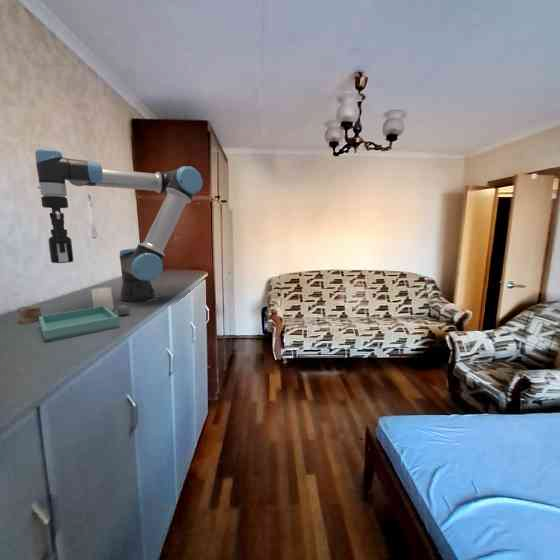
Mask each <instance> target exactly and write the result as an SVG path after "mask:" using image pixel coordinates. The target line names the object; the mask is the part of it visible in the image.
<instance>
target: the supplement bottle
mask: <svg viewBox="0 0 560 560" xmlns="http://www.w3.org/2000/svg"><path fill="white" fill-rule="evenodd" d="M64 230H65V237H66V247H67V255H68V262H59V258H58V251H57V244H55V243H54V241H57V239H56V233H55V229H50V234H51V236H50V237H49V238H48V248H49V255H50V263H52V264H66V263H67V264H68V263H72V262H74V253H73V244H72V243H73V242H72V239H71V237H70V236H68V229H65V228H64Z"/></svg>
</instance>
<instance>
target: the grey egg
mask: <svg viewBox="0 0 560 560" xmlns="http://www.w3.org/2000/svg"><path fill="white" fill-rule="evenodd" d="M129 312H130V308H129V306H128V305H126V304H121V305H119V306H118V307H117V313H118V315H120V316H126V315H128V314H129Z"/></svg>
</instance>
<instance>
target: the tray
mask: <svg viewBox="0 0 560 560" xmlns="http://www.w3.org/2000/svg"><path fill="white" fill-rule="evenodd" d="M119 319H120V318H119V316H118V315H117V314H116V313H115V312H113V310H112V311H111V310H109V309H108V308H107V307H106V306H99V307H88V308H87V307H86V308H82V309H75V310H70V311H65V312H57V313H52V314H45V315H41V316H39V321H38V323H39V327H40V330H41V332H42V336H43V339H44V342H45V343H49V342H55V341H59V340H64V339H68V338H73V337H79V336H83V335H88V334H93V333H97V331H98V332H103V331H106V330H110V329H111V330H112V329H116V328H117V329H118V328H120V320H119ZM102 330H103V331H102Z"/></svg>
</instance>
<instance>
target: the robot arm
mask: <svg viewBox="0 0 560 560" xmlns="http://www.w3.org/2000/svg"><path fill="white" fill-rule="evenodd" d="M34 153H35V155H34V156H35V164H36V170H37V178H38V183H39V185H37V189H38V190H39V189H40V191H39V192H40V194H41V197H40V198H41V199H40V200H41V206H42V207H43V208H46V209H51V212H50V213H49V218H50V222H51V225H52V228H53V229H55V233H56V239H57V241H54V243H55V244H57V251H58V258H59V262H68V255H67V247H66V237H65V230H64V229H65V220H64V219H65V213H64V212H62V211H61V209H68V208H69V202H68V198H67V195H68V193H67V192H68V191H67V185H66V181H68V182H69V183H70V184H72V185H73V186H75V187H76V186H77V187H83V186H87V187H99V188H100V187H101V188H102V187H103V188H114V189H115V188H116V189H128V190H130V189H131V190H138V191H139V190H143V191H152V192H153V191H155V192H156V193H157V194H164V195H166V196H165V198H164V200H163V202H162V204H161V206H160V208H159V210H158V213H157V215H156V217H155V219H154V220H153V223H152V225H151V226H150V229H149V230H148V232H147V235H146V238H145V239H144V241H143V242H140V243H137V247H135V248H127V249H126V248H125V249H121V250H120V251H119V261H120V272H121V278H122V285H121V289H120V292H119V298H120V299H119V300H120V301H122V302H139V301H147V300H150V299H153V298H155V297H156V291H155V288H154V285H153V284H152V282H151V281H153V280H155V279H156V278H158V277H159V276H160V275H161V273H162V272H163V267H164V266H163V260H164V259H165V256H166V255H165V253H164V250H165V248H166V247H167V244H168V242H169V240H170V238H171V236H172V233H173V232H174V229H175V228H176V226H177V223H178V221H179V219H180V217H181V216H182V213H183V210H184V208H185V206H186V204H190V203H191V202H192V200H193V198H194V196H195V194H197V193H199V192H200V191H201V190H202V188H203V187H202V186H203V178H202V176H201V173H200V172H199V171H198V170H197V169H196V168H194V167H192V166H191V165H190V166H189V165H188V166H187V165H186V166H180V167H179V168H177V169H174V170H171V171H164V172H163V171H156V172H155V173H152V172H140V171H133V170H121V169H115V168H114V169H113V168H106V167H105V168H103V167H102V165H101V163H100V162H98V161H92V160H83V159H77V158H76V159H75V158H74V159H73V158H66V157H63V155H62V152H61V151H59V150H57V149H51V148H39V149H37V150H36V151H35V152H34ZM68 263H69V262H68Z"/></svg>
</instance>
